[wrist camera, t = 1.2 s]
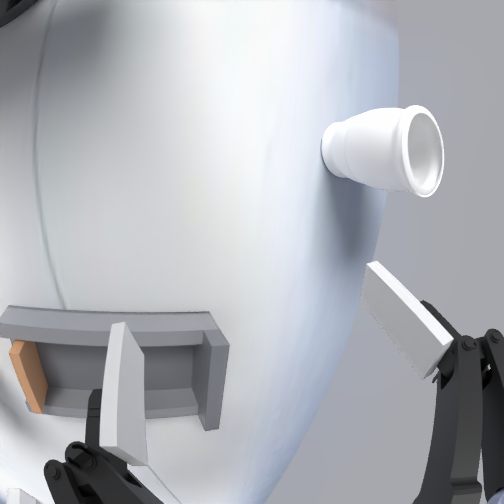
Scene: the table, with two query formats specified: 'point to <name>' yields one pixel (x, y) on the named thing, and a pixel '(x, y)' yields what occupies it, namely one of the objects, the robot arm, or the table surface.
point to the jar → (387, 150)
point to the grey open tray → (151, 344)
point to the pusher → (29, 373)
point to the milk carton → (19, 497)
